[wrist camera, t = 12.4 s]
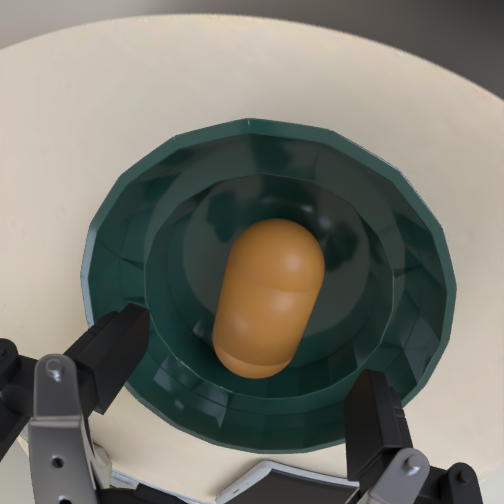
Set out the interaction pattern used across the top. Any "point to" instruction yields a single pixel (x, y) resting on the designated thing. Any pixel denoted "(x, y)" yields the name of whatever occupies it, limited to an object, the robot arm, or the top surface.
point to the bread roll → (267, 297)
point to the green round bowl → (214, 265)
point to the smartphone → (286, 487)
